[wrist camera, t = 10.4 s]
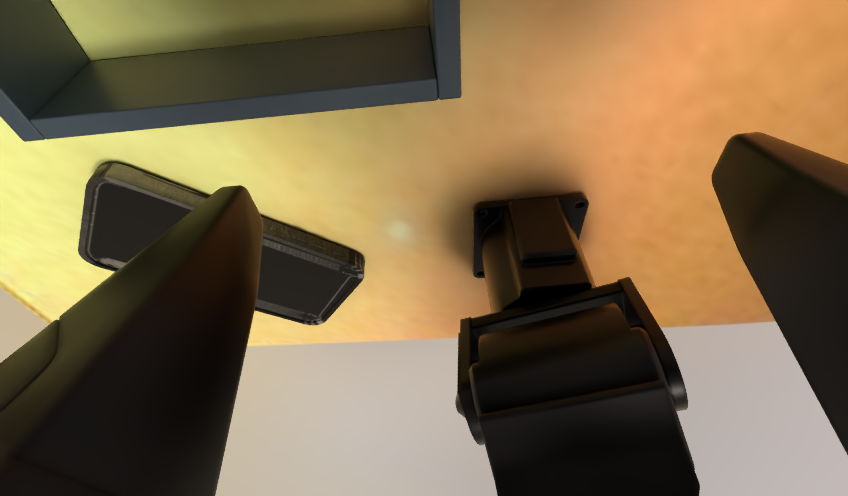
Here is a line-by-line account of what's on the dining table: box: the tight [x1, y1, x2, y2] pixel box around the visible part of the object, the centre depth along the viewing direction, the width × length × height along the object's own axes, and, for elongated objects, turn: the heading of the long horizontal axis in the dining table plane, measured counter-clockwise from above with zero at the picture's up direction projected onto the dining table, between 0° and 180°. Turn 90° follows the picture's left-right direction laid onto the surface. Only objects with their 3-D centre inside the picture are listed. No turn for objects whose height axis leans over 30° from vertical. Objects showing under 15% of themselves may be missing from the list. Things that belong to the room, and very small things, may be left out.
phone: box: [78, 163, 365, 325], centre depth 26 cm, size 8×1×15 cm
